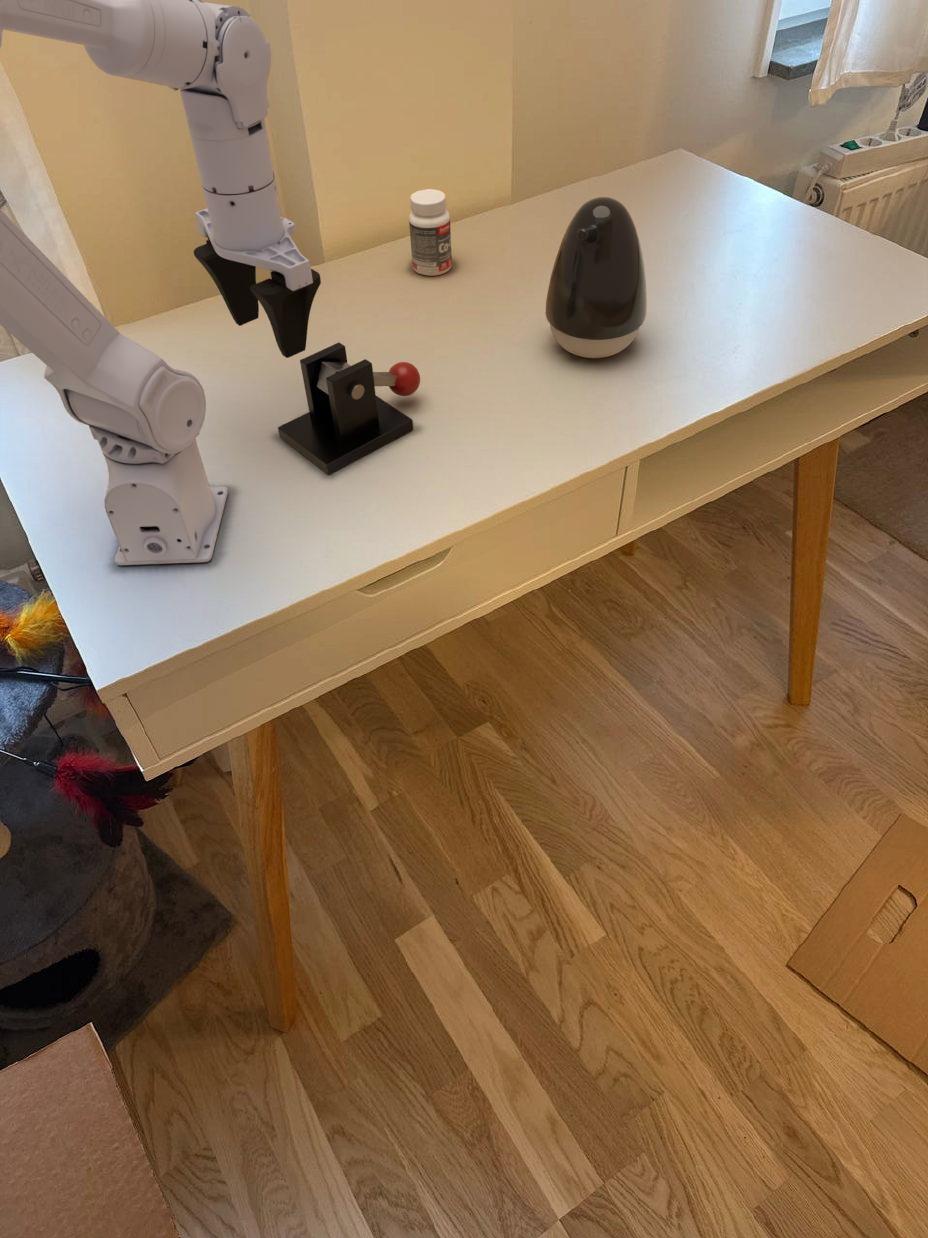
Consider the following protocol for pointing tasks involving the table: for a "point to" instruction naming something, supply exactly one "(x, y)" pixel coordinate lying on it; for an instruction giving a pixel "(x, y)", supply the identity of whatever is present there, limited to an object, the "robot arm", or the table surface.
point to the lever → (378, 377)
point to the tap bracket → (342, 414)
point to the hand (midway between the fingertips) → (270, 336)
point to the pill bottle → (430, 233)
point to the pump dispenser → (598, 282)
